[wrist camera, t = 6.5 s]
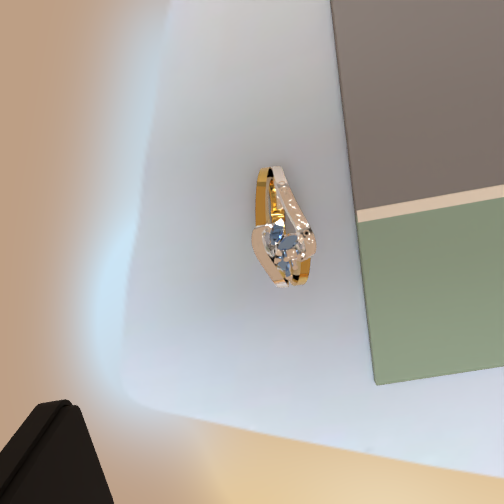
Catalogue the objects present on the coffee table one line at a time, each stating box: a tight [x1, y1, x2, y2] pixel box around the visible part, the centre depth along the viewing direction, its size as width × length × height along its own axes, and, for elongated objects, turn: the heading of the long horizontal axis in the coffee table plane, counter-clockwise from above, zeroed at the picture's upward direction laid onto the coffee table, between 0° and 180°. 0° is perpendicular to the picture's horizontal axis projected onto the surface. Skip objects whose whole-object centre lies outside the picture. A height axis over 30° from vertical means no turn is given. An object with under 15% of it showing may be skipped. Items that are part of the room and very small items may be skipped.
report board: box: [330, 0, 504, 385], centre depth 27 cm, size 11×26×1 cm, turn 11°
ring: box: [252, 166, 316, 288], centre depth 24 cm, size 7×3×8 cm, turn 6°
